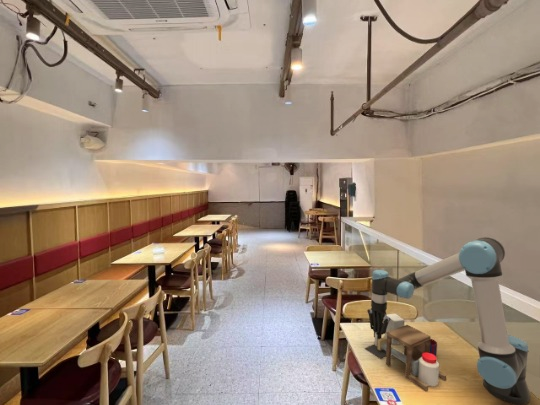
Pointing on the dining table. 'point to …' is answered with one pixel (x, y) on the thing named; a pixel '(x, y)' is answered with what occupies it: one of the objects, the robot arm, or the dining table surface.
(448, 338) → the dining table surface
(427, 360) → the pill bottle
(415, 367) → the plunger
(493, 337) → the robot arm
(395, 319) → the small box
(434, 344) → the mug
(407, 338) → the tunnel
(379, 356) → the mat
